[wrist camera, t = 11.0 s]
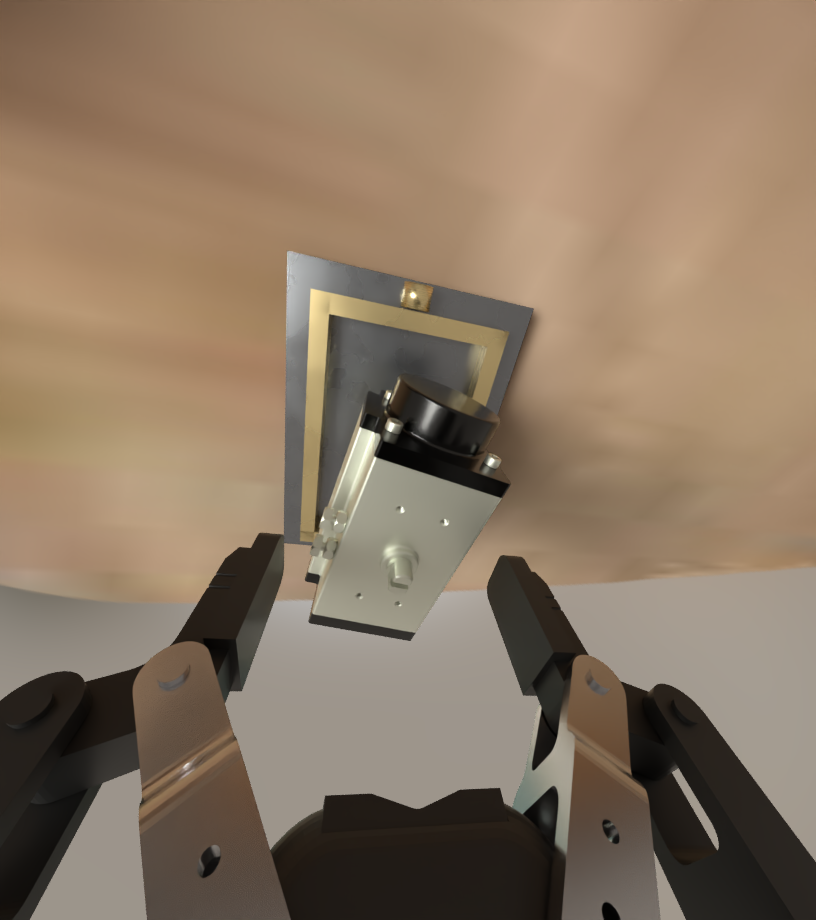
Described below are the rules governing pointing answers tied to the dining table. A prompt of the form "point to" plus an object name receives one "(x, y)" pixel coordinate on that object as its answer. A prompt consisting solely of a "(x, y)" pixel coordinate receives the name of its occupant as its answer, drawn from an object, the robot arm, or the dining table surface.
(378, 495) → the pneumatic valve
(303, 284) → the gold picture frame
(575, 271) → the dining table surface
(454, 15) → the dining table surface
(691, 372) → the dining table surface
